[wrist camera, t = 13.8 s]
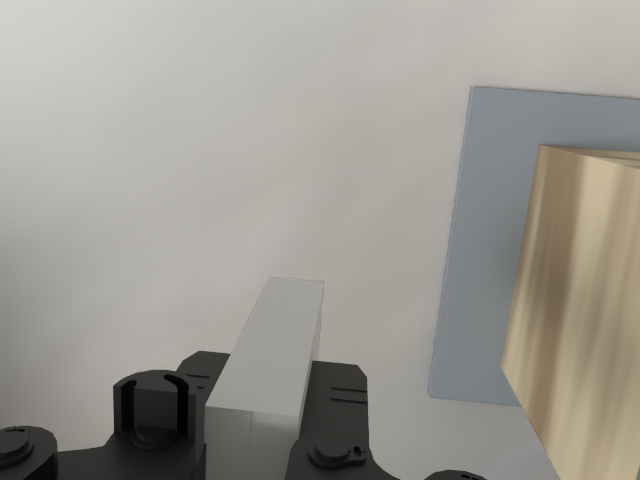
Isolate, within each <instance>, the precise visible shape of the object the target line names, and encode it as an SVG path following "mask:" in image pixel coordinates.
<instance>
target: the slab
mask: <svg viewBox="0 0 640 480" xmlns="http://www.w3.org/2000/svg"><path fill="white" fill-rule="evenodd" d="M500 367H501V368H502V370H503V372H504V374H505V376H506V378H507V380H508V382H509V383H510V385H511V387H512V389H513V391H514V393H515V395H516V397H517V399H518V400H519V402H520V404H521V406H522V408H523V410H524V412H525V414H526V415H527V417H528V419H529V421H530V423H531V425H532V427H533V429H534V430H535V432H536V434H537V436H538V438H539V440H540V442H541V444H542V446H543V447H544V449H545V451H546V453H547V455H548V457H549V459H550V461H551V462H552V464H553V466H554V468H555V470H556V472H557V474H558V476H559V477H560V479H561V480H640V153H639V152H628V151H615V150H603V149H591V148H579V147H566V146H554V145H542V144H539V147H538V153H537V158H536V164H535V170H534V176H533V181H532V187H531V193H530V198H529V204H528V210H527V216H526V221H525V227H524V233H523V238H522V244H521V250H520V256H519V261H518V267H517V273H516V278H515V284H514V290H513V296H512V301H511V307H510V313H509V318H508V324H507V330H506V336H505V341H504V347H503V353H502V358H501V364H500Z"/></svg>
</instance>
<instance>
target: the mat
mask: <svg viewBox="0 0 640 480" xmlns="http://www.w3.org/2000/svg"><path fill="white" fill-rule="evenodd" d="M539 144H542V145H554V146H566V147H579V148H591V149H603V150H615V151H628V152H639V153H640V100H639V99H626V98H613V97H601V96H588V95H575V94H562V93H549V92H536V91H523V90H510V89H497V88H484V87H471V89H470V97H469V104H468V111H467V118H466V125H465V132H464V139H463V146H462V154H461V161H460V168H459V175H458V182H457V189H456V196H455V203H454V211H453V218H452V225H451V232H450V239H449V246H448V253H447V260H446V268H445V275H444V282H443V289H442V296H441V303H440V310H439V317H438V325H437V332H436V339H435V346H434V353H433V360H432V367H431V374H430V382H429V389H428V392H429V396H430V398H440V399H450V400H459V401H469V402H479V403H489V404H498V405H508V406H518V407H522V406H521V404H520V402H519V400H518V399H517V397H516V395H515V393H514V391H513V389H512V387H511V385H510V383H509V382H508V380H507V378H506V376H505V374H504V372H503V370H502V368H501V367H500V364H501V358H502V353H503V347H504V341H505V336H506V330H507V324H508V318H509V313H510V307H511V301H512V296H513V290H514V284H515V278H516V273H517V267H518V261H519V256H520V250H521V244H522V238H523V233H524V227H525V221H526V216H527V210H528V204H529V198H530V193H531V187H532V181H533V176H534V170H535V164H536V158H537V153H538V147H539Z"/></svg>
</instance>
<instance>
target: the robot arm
mask: <svg viewBox="0 0 640 480" xmlns="http://www.w3.org/2000/svg"><path fill="white" fill-rule="evenodd" d="M323 290H324V282H323V281H312V280H301V279H291V278H280V277H269V279H268V281H267V283H266V285H265V287H264V289H263V291H262V293H261V295H260V297H259V299H258V301H257V303H256V305H255V307H254V309H253V311H252V313H251V315H250V317H249V319H248V321H247V323H246V325H245V327H244V329H243V331H242V333H241V335H240V337H239V339H238V341H237V343H236V345H235V347H234V349H233V351H232V353H231V354H227V353H217V352H207V351H198V352H196V353H195V354H193V355H191V356H190V357H188V358H186V359H185V360H183V361H182V363H181V364H180V366H179V367H178V369H177V370H176V372H175V371H170V370H150V371H144V372H139V373H135V374H133V375H130V376H128V377H125V378H123V379H121V380H120V381H119V382H118V383H116V384H115V385H114V386H113V399H114V433H113V434H112V436H111V437H110V438H109V440H108V441H107V442H106V444H105V445H104V446H102V447H96V448H90V449H82V450H72V451H62V452H57V441H56V439H55V437H54V435H53V433H51V432H49V431H47V430H45V429H43V428H40V427H32V426H18V427H16V426H14V427H7V428H5V429H1V430H0V480H400V479H398V478H395V477H393V476H392V475H390V474H389V473H387V472H385V471H384V470H383V469H382V468H381V467H380V466H379V465H377V464H376V463H375V461H374V459H373V456H372V453H371V450H370V449H369V429H368V395H367V377H366V376H365V374H364V373H363V372H362V370H361V369H360V368H359V367H358V365H352V364H342V363H332V362H323V361H318V351H319V339H320V327H321V315H322V302H323ZM424 480H487V479H485V478H483V477H481V476H478V475H475V474H472V473H469V472H466V471H457V470H445V471H440V472H435V473H433V474H431V475H430V476H428V477H427V478H426V479H424Z"/></svg>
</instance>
